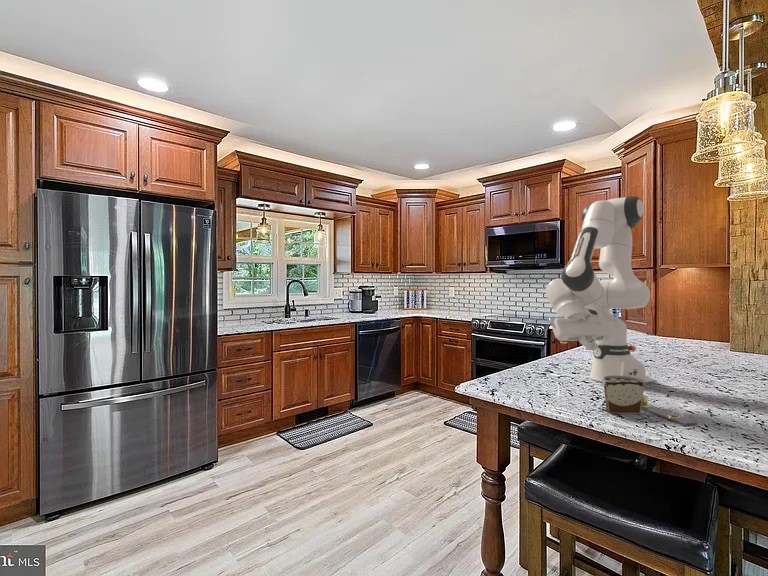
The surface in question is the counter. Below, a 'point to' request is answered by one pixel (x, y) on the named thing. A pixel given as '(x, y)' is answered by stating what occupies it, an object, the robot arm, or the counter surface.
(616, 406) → the food container
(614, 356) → the robot arm
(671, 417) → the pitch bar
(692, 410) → the counter surface
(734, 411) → the counter surface
